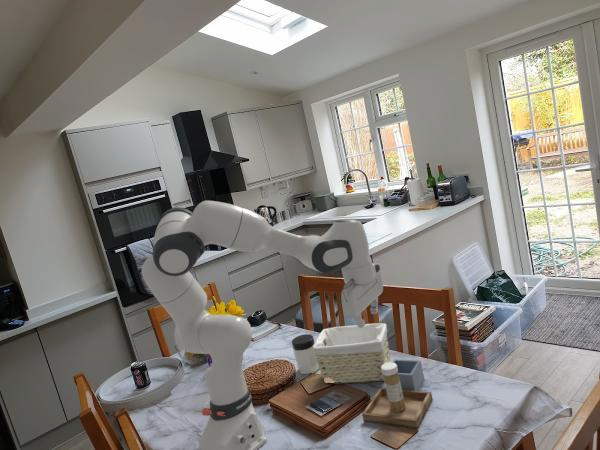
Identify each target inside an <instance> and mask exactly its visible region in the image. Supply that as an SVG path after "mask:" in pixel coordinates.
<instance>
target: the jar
mask: <svg viewBox="0 0 600 450" xmlns="http://www.w3.org/2000/svg"><path fill="white" fill-rule="evenodd" d="M314 344H315V338H314V336H313V335H312V334H308V333H305V334H301V335H298V336H296V337H294V338H293V339H292V340H291V345H292V350H293V354H294V357H295V361H296V366H297V369H298V371H299V373H300V374H301V375H308V374H309V375H311V374H310V373H312V374H314V373H316V371H318V370H320V368H319V365H318V362H317V360H316V356H315V355H314V354H313V347H314Z"/></svg>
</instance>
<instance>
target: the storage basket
mask: <svg viewBox="0 0 600 450" xmlns="http://www.w3.org/2000/svg"><path fill="white" fill-rule="evenodd" d="M387 333H388V327H387V323H380V322H379V323H365V326H364V327H363V328H359V327H358V326H357V324H356V325H344V326H343V325H342V326H341V325H340V326H334V327H328V328H323V329H322V330H321V332H320V333H319V335H318V337H317V338H316V340H315V341H314V343H315V344H314V347H313V354H314V355H315V356H316V360H317V362H318V365H319V368H320V369H319V371H320V374H321V377H322V379H323V378H326V377H327V378H328V377H329V378H330V379H332V380H334V381H336V382H340V383H339V384H348V383H369V382H383V381H384V376H383V374H382V370H381V366H382V365H383V364H385V363H388V362H391V358H390V357H391V356H390V355H391V354H390V349H389V341H388V336H387ZM384 382H385V381H384Z"/></svg>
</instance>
